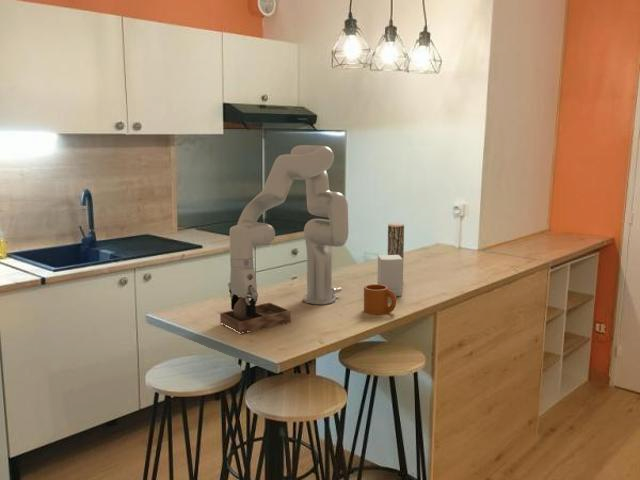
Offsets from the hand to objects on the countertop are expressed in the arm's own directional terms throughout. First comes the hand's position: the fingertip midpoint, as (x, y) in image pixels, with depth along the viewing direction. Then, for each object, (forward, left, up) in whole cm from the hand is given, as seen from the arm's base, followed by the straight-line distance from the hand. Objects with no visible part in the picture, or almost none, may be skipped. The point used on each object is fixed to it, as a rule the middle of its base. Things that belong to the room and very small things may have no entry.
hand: (243, 312), depth 205 cm
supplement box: (-67, +2, -5) cm, 67 cm away
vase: (0, 0, -4) cm, 4 cm away
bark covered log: (-82, -10, -5) cm, 83 cm away
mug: (-47, +17, -5) cm, 50 cm away
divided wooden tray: (-5, 0, -5) cm, 7 cm away
